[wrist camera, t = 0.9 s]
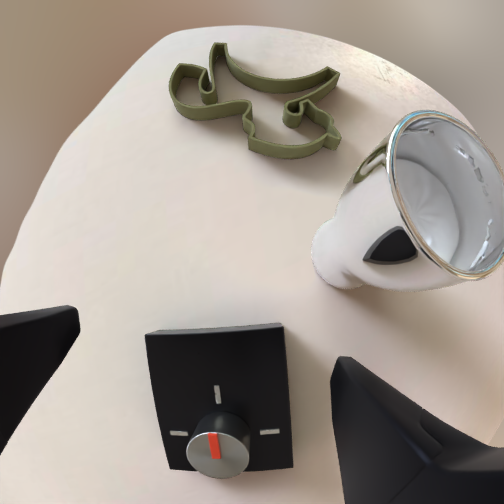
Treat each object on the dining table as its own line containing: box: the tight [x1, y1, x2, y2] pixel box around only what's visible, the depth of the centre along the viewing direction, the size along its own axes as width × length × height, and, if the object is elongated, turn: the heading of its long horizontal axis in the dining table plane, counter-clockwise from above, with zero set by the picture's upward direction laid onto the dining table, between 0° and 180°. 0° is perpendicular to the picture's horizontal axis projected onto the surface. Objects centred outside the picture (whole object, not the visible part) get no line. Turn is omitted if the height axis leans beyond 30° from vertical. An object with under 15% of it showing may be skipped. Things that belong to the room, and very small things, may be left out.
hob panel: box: [145, 323, 293, 472], centre depth 19 cm, size 12×10×3 cm
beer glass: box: [311, 110, 504, 292], centre depth 15 cm, size 7×7×15 cm
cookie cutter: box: [169, 43, 342, 159], centre depth 24 cm, size 18×12×2 cm, turn 69°
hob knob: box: [186, 412, 251, 479], centre depth 15 cm, size 4×4×4 cm
